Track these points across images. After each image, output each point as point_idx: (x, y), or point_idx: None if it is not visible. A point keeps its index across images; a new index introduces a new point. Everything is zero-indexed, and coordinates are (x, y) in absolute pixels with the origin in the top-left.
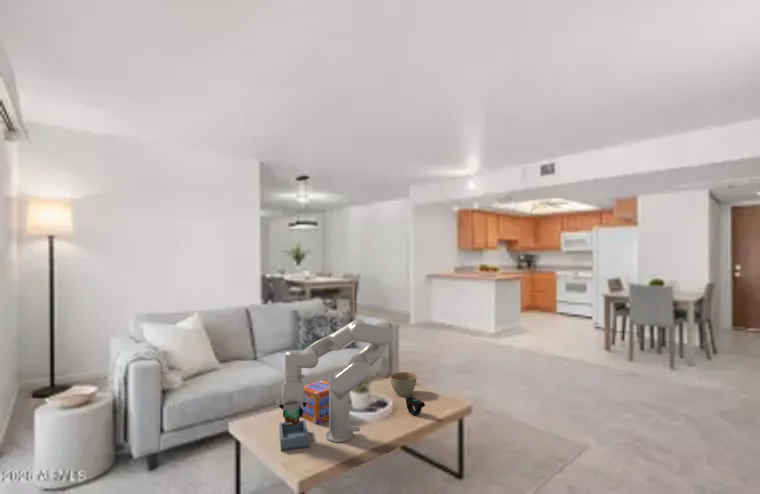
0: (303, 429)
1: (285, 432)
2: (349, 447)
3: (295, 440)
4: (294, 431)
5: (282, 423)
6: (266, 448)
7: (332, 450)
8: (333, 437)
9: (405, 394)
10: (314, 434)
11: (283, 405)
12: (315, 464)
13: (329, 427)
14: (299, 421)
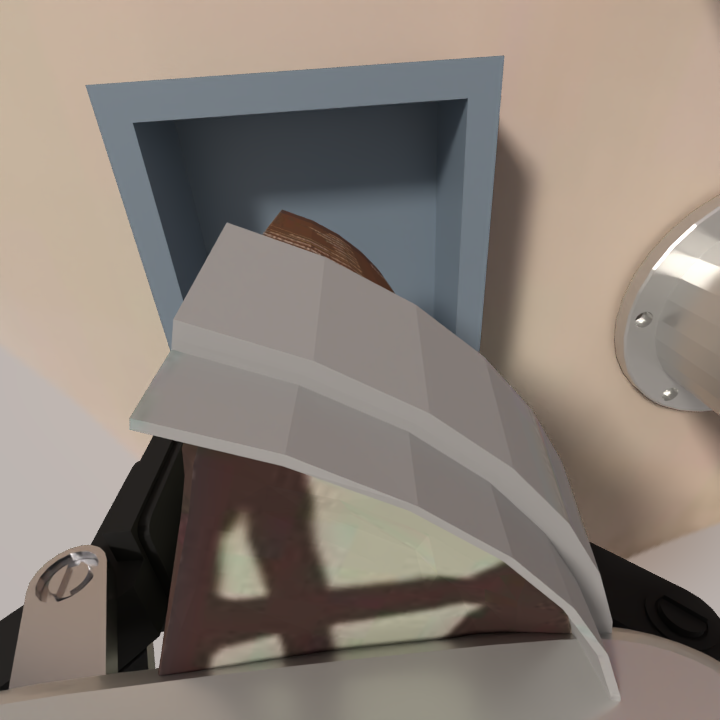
0: (443, 179)
1: (225, 144)
2: (700, 466)
3: None
4: (333, 137)
5: (144, 116)
6: (112, 397)
7: (584, 484)
8: (668, 374)
9: None
10: (539, 209)
11: (36, 659)
12: None
13: (714, 357)
14: (414, 94)
